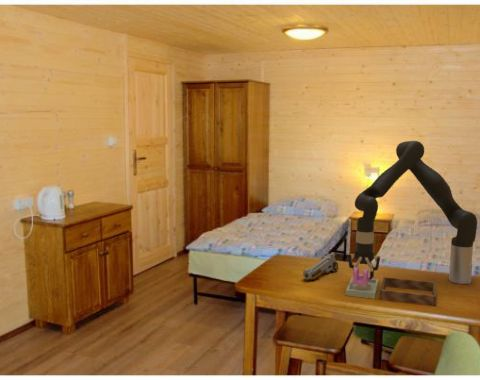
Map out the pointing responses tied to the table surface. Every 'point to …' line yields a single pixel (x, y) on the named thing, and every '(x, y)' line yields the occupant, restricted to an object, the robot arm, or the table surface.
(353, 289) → the tray
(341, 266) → the table surface
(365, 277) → the bracket
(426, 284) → the crate
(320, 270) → the toy
